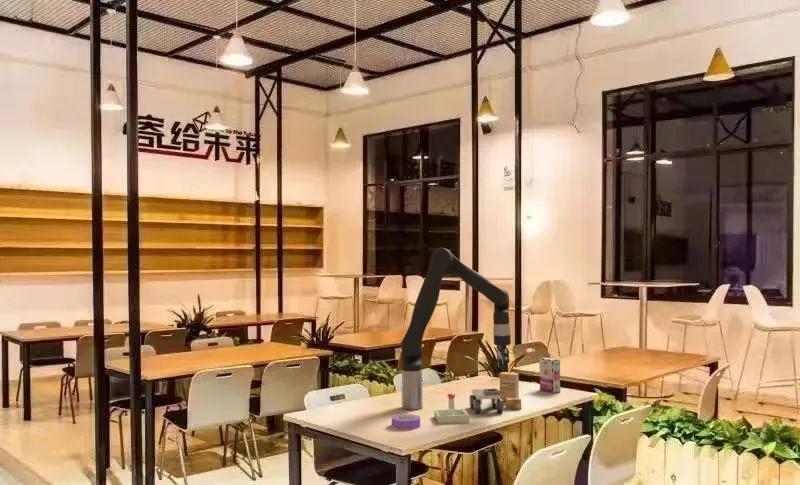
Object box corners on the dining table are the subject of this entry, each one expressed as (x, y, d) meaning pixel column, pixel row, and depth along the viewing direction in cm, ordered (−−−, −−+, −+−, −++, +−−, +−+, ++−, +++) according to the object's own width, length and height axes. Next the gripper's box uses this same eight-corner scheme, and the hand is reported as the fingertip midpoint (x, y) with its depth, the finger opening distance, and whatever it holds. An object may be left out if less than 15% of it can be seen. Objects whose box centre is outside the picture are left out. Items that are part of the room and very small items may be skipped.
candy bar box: (561, 392, 339) (560, 359, 339) (553, 393, 336) (552, 360, 337) (547, 388, 349) (546, 356, 349) (539, 389, 347) (538, 357, 347)
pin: (448, 418, 283) (448, 395, 283) (447, 416, 286) (446, 393, 287) (456, 418, 283) (455, 395, 284) (454, 416, 287) (454, 393, 287)
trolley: (476, 414, 293) (476, 392, 293) (469, 406, 309) (469, 385, 309) (503, 413, 294) (503, 392, 294) (495, 406, 310) (495, 385, 310)
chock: (508, 409, 302) (508, 399, 302) (506, 407, 306) (505, 397, 306) (521, 409, 303) (521, 399, 303) (519, 407, 307) (518, 397, 307)
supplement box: (499, 401, 320) (498, 373, 321) (502, 399, 325) (502, 371, 325) (516, 402, 316) (515, 374, 317) (519, 400, 321) (518, 372, 321)
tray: (438, 423, 278) (438, 416, 278) (434, 416, 290) (434, 409, 290) (469, 422, 279) (469, 415, 279) (464, 415, 291) (464, 408, 291)
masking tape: (426, 426, 276) (426, 416, 276) (407, 431, 267) (406, 422, 267) (405, 421, 283) (404, 412, 284) (385, 427, 275) (385, 417, 275)
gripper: (490, 332, 308) (492, 368, 307) (496, 336, 294) (498, 373, 293) (506, 331, 308) (508, 367, 308) (513, 335, 294) (515, 372, 294)
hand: (503, 370), depth 300 cm, fingers open, 8 cm apart
